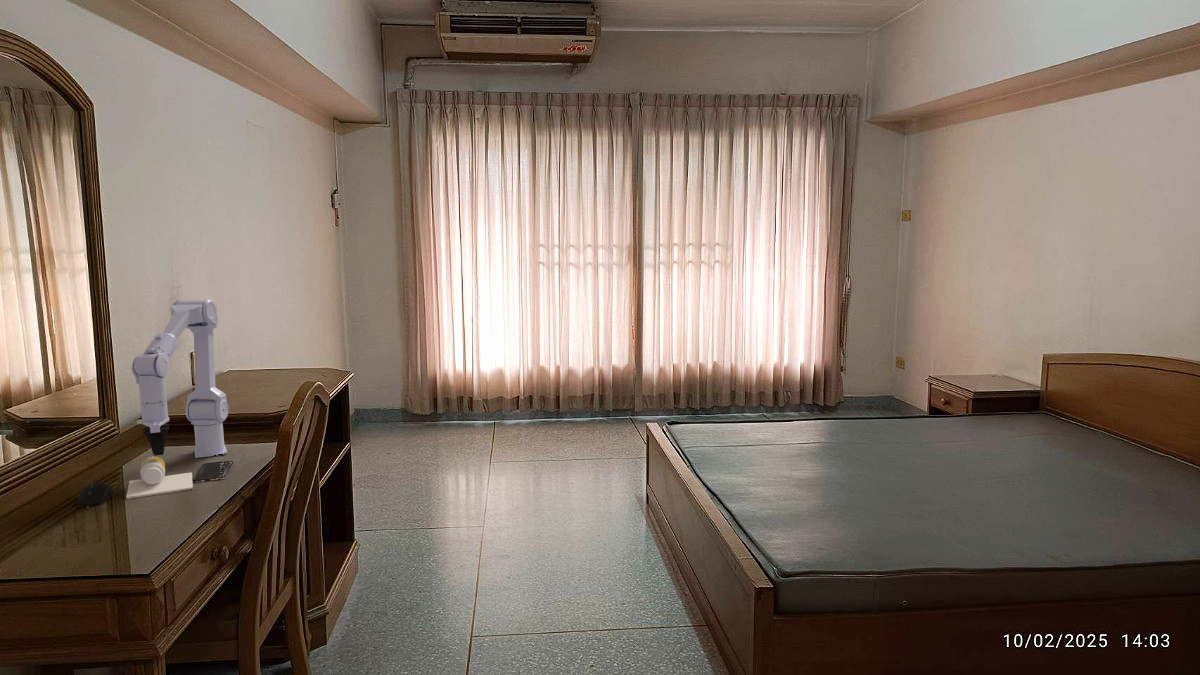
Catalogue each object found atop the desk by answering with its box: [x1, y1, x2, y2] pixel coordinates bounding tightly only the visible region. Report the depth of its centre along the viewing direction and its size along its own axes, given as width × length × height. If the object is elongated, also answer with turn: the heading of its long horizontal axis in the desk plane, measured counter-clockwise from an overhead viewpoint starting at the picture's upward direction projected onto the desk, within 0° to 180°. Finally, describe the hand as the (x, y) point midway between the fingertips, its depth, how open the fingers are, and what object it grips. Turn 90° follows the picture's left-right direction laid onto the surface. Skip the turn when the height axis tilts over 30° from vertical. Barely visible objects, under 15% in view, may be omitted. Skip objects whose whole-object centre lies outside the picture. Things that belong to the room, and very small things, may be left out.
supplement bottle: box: [139, 455, 166, 484], centre depth 199 cm, size 5×5×10 cm
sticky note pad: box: [125, 471, 194, 500], centre depth 197 cm, size 14×14×1 cm
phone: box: [192, 460, 235, 483], centre depth 208 cm, size 8×1×15 cm
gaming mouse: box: [76, 482, 114, 509], centre depth 187 cm, size 6×15×4 cm, turn 19°
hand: (158, 454), depth 200 cm, fingers closed
